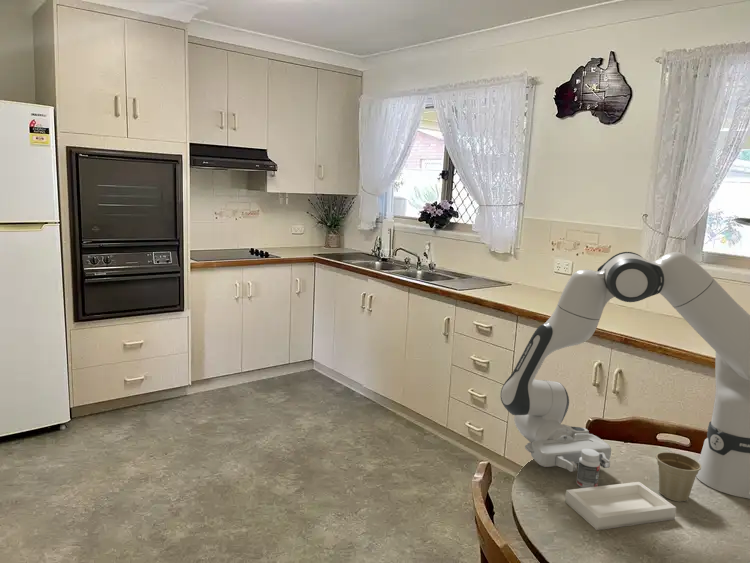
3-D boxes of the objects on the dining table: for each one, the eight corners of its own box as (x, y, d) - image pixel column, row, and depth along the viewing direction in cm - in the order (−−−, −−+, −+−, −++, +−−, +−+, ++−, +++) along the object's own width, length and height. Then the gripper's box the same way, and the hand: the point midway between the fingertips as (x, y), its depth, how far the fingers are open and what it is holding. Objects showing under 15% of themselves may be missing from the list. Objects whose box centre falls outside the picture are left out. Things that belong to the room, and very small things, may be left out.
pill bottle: (598, 491, 131) (603, 458, 129) (577, 488, 132) (581, 455, 130) (595, 481, 135) (599, 449, 134) (574, 478, 136) (578, 446, 135)
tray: (637, 492, 131) (639, 481, 131) (674, 519, 121) (676, 507, 120) (564, 501, 125) (566, 490, 125) (597, 530, 115) (598, 517, 115)
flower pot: (645, 482, 136) (649, 449, 135) (685, 487, 135) (690, 453, 134) (660, 503, 127) (665, 468, 126) (703, 508, 126) (709, 472, 125)
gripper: (522, 432, 142) (554, 458, 129) (590, 427, 148) (627, 450, 135) (520, 456, 143) (551, 483, 130) (587, 449, 149) (624, 475, 136)
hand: (591, 466), depth 132 cm, fingers open, 8 cm apart
